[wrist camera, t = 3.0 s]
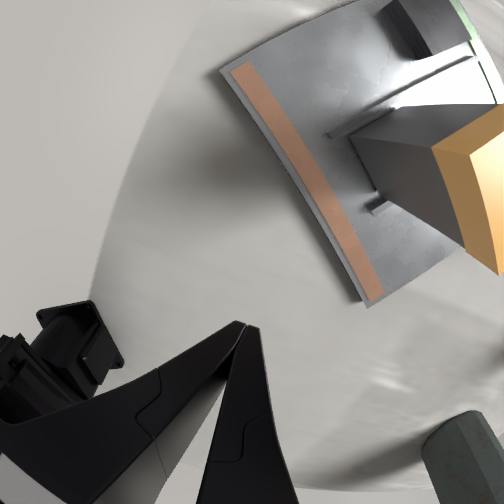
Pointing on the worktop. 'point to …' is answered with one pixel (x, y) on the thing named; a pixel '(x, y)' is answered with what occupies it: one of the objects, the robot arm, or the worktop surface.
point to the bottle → (465, 461)
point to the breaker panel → (362, 119)
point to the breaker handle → (443, 170)
